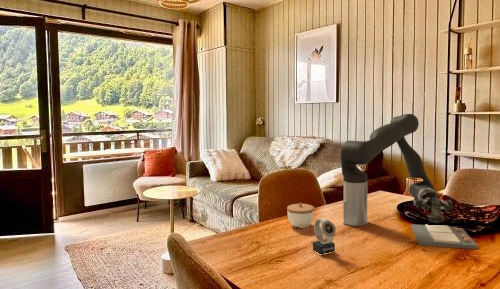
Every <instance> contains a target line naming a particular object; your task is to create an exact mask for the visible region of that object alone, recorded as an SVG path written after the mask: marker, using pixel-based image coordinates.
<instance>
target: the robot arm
mask: <svg viewBox="0 0 500 289" xmlns="http://www.w3.org/2000/svg"><path fill="white" fill-rule="evenodd" d="M419 124H420V123H419V119H418V117H417V115H415V114H414V113H413V114H412V113H405V114H401V115H397V116H394V117H392V118H391V120H390V122H389V123H387V124H384V125H382V126H379V127H378V128H376V129H374V130H373V131H371V134H370V136H369V140H345V141H344V142H343V143H342V145H341V149H340V160H341V161H340V164H341V175H342V179H343V181H342V182H343V201H342V202H343V208H342V209H343V213H342V214H343V225H349V226H353V227H357V226H358V227H362V226H366V225H368V218H369V217H368V174H367V173H366V172H364V171H362V170H361V169H359V168H358V166H357V165H361V166H362V165H366V164H369V163H370V162H371V161H372V160H373V159H374V158H375V157H377V156H378V155H379V154H380V153H382V152H383V151H385V150H386V149H387V148H390V147H391V146H393V145H394V144H395V143H397V145H398V148H399V150H400V152H401V154H402V156H403V159H404V161H405V164H406V169H407V172H408V176H409V177H410V178H411V179H421V180H422V181H417V182H414V183H413V182H412V183H411V184H410V185H409V188H408V190H409V191H408V192H409V193H410V195H411V196H412V198H413V205H414V206H415V208H417V209H421V208H422V209H423V210H424V211H426V212H429V210H432V207H431V205H432V198H433V197H435V195H437V197H439V198H440V206H441V208H440V210H444V211H445V212H446V213H448V212H450V211H451V210H453V209H454V208H453V204H454V203H453V201H452V200H451V199H449V198H448V199H446V200H443V199H442V198H441V196H440V195H439V194H438V193H437V192H436V191H435V185H434V184H433V182H432V181H431V180H430V178H429V177H428V175H427V172H426V170H425V167H424V163H423V160H422V158H421V156H420V154H419V152H417V151H416V150H415V149H414V148H413V147H412V146H411V145H410V144H409V143H408V142H407V141H408V140H407V139H406V137H405V136H408V135H411V134H414V133H415V132H416V131H417V130H418V128H419Z"/></svg>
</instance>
